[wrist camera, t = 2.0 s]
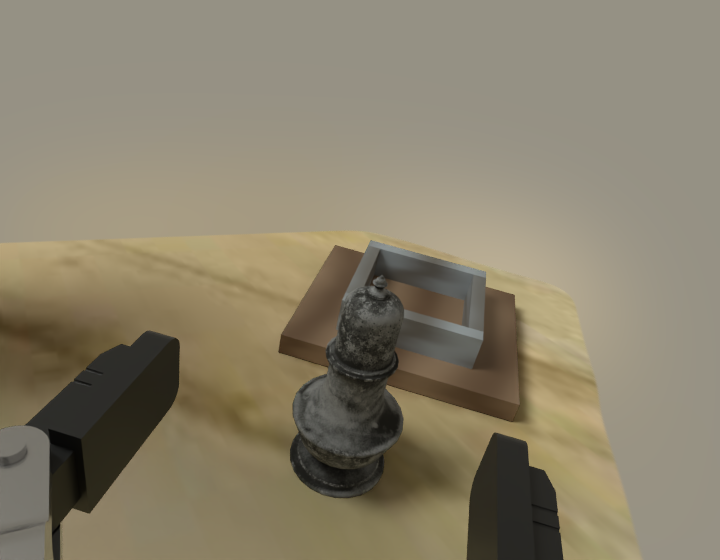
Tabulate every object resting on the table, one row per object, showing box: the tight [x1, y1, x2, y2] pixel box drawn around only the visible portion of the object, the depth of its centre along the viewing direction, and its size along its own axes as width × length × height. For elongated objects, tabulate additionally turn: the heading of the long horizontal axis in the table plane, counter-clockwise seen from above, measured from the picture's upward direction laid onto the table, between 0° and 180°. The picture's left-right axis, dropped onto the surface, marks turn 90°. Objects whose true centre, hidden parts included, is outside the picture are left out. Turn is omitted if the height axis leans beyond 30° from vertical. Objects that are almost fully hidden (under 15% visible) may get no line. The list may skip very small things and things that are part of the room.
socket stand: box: [279, 240, 520, 422], centre depth 41 cm, size 16×14×4 cm
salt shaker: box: [290, 275, 404, 498], centre depth 28 cm, size 6×6×12 cm
